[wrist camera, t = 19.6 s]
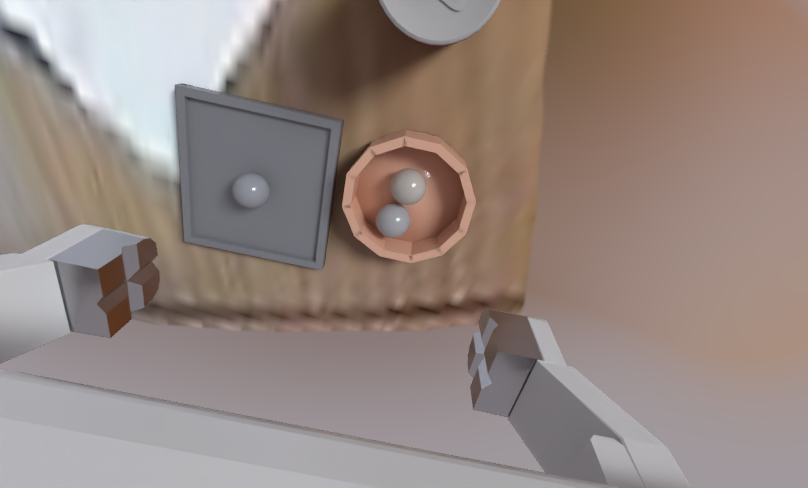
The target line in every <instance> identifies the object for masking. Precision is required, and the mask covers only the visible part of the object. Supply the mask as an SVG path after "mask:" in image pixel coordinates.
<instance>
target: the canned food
mask: <svg viewBox="0 0 808 488" xmlns="http://www.w3.org/2000/svg"><path fill="white" fill-rule="evenodd" d="M379 2H380V4H381V6H382V8H383V9H384V11H385V13H386V15H387V16H388V17H389V19H390V20H391V21H392V22H393V24H394V25H395V26H396V27H397V28H398V29H399V30H400V31H402V32H403V33H404V34H405V35H406V36H408V37H410V38H412V39H414V40H415V41H417V42H419V43H422V44H426V45H429V46H445V45H451V44H455V43H458V42H460V41H463V40H465V39H467V38H469V37H470V36H471V35H473V34H474V33H476V32H477V31H479V30H480V29H481V28H482V27H483V26H484V25H485V24H486V23H487V22H488V20H489V19H490V17H491V16H492V15H493V13H494V12H495V10H496V9H497V6H498V4H499V2H500V0H379Z"/></svg>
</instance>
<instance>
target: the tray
mask: <svg viewBox="0 0 808 488" xmlns="http://www.w3.org/2000/svg"><path fill="white" fill-rule="evenodd" d="M175 95H176V112H177V129H178V145H179V162H180V178H181V195H182V212H183V228H184V242H189V243H193V244H198V245H203V246H208V247H213V248H217V249H222V250H227V251H232V252H237V253H241V254H246V255H251V256H256V257H261V258H265V259H270V260H275V261H280V262H284V263H289V264H294V265H299V266H304V267H308V268H313V269H318V270H322V269H323V267H324V265H325V257H326V250H327V242H328V234H329V227H330V219H331V212H332V204H333V197H334V189H335V181H336V174H337V166H338V159H339V151H340V144H341V136H342V129H343V121H344V120H341V119H337V118H333V117H328V116H324V115H319V114H315V113H310V112H306V111H302V110H297V109H293V108H288V107H284V106H279V105H275V104H271V103H266V102H262V101H257V100H253V99H248V98H244V97H240V96H235V95H231V94H226V93H222V92H217V91H213V90H209V89H204V88H200V87H195V86H191V85H186V84H177V85H175ZM245 173H255V174H258V175H260V176H262V177H263V178H264V179H265V180H266V181H267V183H268V185H269V188H270V195H269V198H268V200H267V202H266V203H265V204H263V205H262V206H260V207H258V208H246V207H243V206H242V205H240V204H239V203H238V202H237V201H236V200H235V198H234V196H233V193H232V186H233V183H234V181H235V180H236V178H238V177H239V176H240V175H242V174H245Z"/></svg>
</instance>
